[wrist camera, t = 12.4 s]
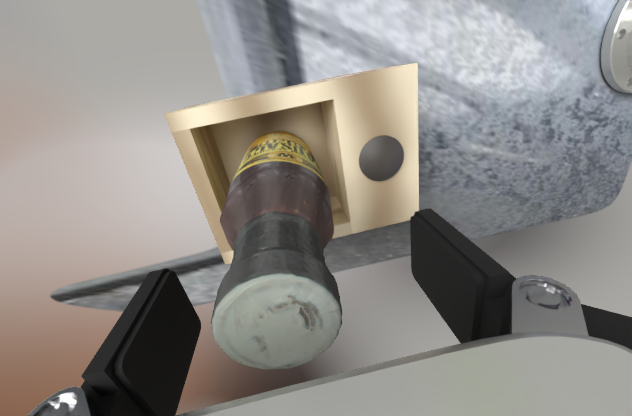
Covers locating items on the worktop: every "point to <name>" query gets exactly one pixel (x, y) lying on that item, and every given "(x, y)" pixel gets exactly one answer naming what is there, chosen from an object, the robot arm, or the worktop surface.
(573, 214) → the worktop surface
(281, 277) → the sauce bottle
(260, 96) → the caddy
